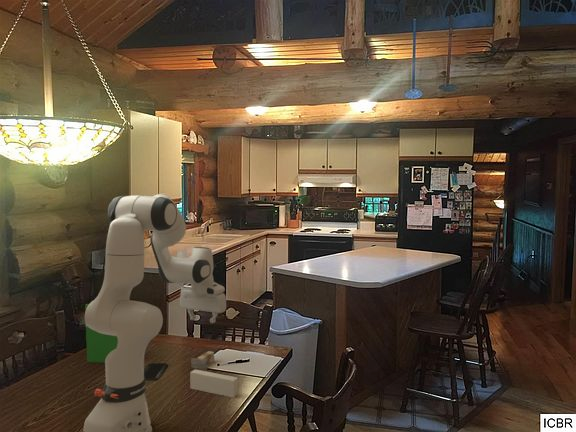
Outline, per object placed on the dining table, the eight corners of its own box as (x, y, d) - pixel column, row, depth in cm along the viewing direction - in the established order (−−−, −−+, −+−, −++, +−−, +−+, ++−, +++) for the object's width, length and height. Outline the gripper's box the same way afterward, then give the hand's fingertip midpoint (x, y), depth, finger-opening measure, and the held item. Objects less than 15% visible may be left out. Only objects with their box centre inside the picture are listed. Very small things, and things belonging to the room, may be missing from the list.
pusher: (205, 370, 192) (205, 360, 191) (191, 367, 195) (191, 357, 194) (218, 362, 200) (218, 352, 200) (204, 359, 203) (204, 350, 203)
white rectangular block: (233, 397, 168) (233, 380, 167) (190, 388, 175) (190, 372, 174) (246, 387, 176) (246, 371, 175) (204, 379, 183) (204, 363, 183)
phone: (168, 363, 197) (156, 378, 182) (168, 366, 197) (156, 381, 182) (149, 363, 197) (136, 378, 182) (149, 365, 197) (136, 381, 182)
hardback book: (87, 361, 201) (85, 304, 199) (95, 355, 208) (93, 300, 206) (128, 363, 199) (126, 305, 197) (135, 356, 206) (134, 301, 204)
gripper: (176, 286, 195) (176, 320, 196) (219, 291, 187) (219, 326, 188) (185, 283, 201) (186, 316, 202) (228, 287, 193) (228, 322, 194)
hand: (202, 321), depth 195 cm, fingers open, 8 cm apart
